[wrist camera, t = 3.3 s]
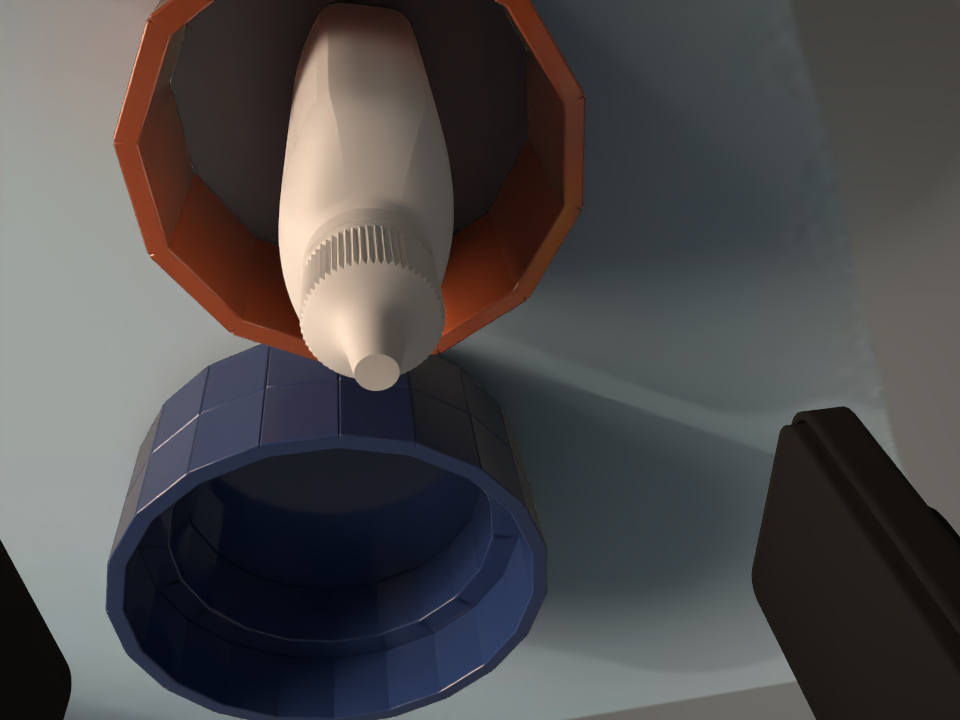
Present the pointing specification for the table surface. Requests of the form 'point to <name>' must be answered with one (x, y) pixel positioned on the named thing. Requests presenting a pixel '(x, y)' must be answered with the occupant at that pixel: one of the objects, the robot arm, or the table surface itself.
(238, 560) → the bowl
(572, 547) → the table surface
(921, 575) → the robot arm
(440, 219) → the eye dropper bottle
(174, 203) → the brown round container
